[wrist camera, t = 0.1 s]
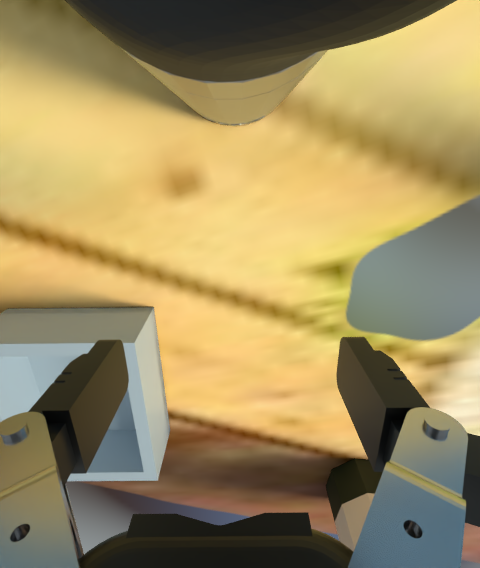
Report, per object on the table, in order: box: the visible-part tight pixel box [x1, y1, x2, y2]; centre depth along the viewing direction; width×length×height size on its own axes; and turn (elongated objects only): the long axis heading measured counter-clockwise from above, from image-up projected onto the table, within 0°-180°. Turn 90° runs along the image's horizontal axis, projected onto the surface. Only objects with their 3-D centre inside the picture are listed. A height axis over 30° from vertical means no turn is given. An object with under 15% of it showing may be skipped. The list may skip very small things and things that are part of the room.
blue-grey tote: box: [0, 307, 170, 481], centre depth 31 cm, size 16×14×6 cm
